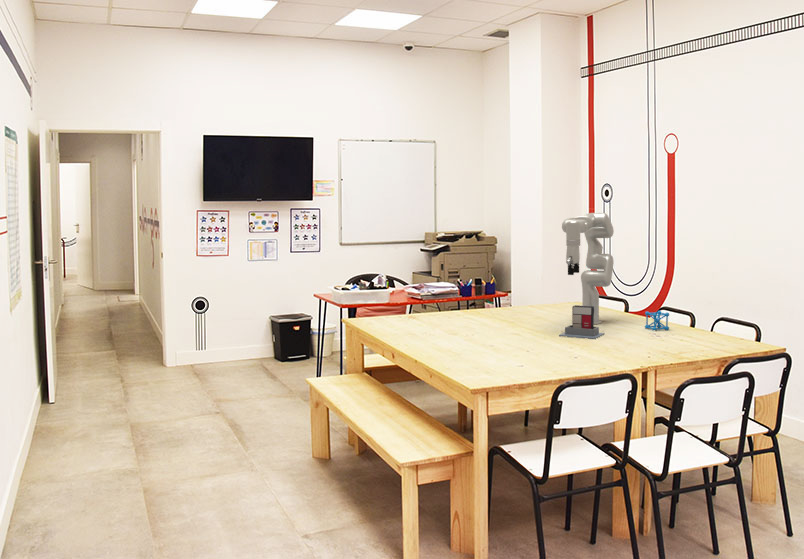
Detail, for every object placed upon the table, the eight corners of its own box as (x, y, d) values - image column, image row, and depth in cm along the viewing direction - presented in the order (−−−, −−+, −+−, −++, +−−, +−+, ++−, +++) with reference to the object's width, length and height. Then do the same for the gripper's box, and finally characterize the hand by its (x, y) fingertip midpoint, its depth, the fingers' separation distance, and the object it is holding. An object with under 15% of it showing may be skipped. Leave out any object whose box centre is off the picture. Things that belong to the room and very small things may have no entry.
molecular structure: (669, 330, 407) (670, 312, 406) (653, 331, 405) (654, 313, 404) (659, 327, 417) (660, 310, 416) (643, 328, 415) (644, 311, 414)
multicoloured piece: (571, 333, 400) (571, 306, 398) (574, 332, 404) (574, 305, 402) (591, 334, 394) (591, 307, 393) (593, 333, 398) (594, 306, 396)
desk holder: (569, 331, 410) (569, 323, 409) (604, 334, 399) (604, 326, 399) (559, 336, 396) (559, 328, 396) (595, 339, 386) (595, 330, 385)
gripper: (571, 241, 413) (571, 271, 415) (561, 244, 399) (561, 275, 401) (584, 241, 409) (584, 272, 412) (575, 244, 395) (575, 276, 397)
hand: (573, 273), depth 406 cm, fingers open, 9 cm apart
